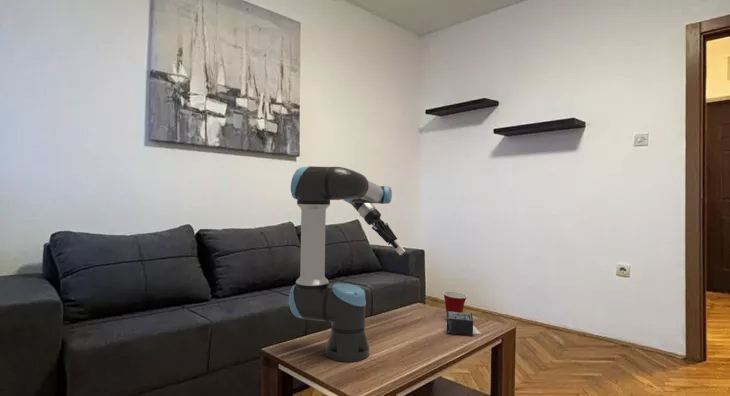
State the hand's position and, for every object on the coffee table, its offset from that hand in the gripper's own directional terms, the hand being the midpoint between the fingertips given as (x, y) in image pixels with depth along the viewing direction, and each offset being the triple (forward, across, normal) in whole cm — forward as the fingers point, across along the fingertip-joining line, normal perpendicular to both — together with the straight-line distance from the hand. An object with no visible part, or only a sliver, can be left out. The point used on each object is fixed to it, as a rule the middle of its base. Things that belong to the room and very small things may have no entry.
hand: (402, 253), depth 183 cm
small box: (+34, +2, -4) cm, 34 cm away
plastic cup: (+35, -15, -7) cm, 39 cm away
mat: (+40, -4, -3) cm, 40 cm away
